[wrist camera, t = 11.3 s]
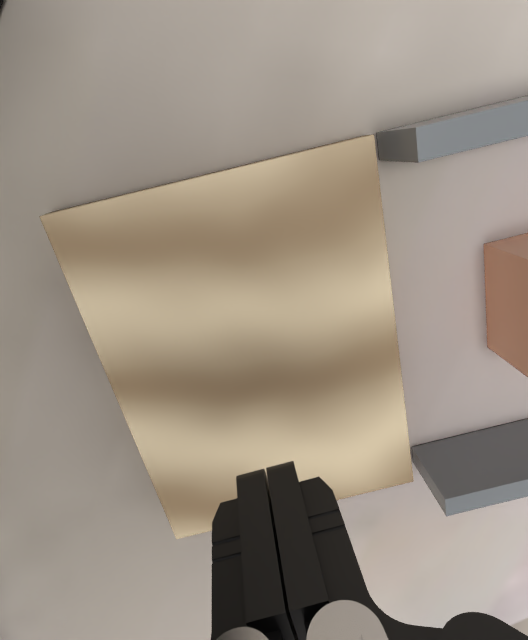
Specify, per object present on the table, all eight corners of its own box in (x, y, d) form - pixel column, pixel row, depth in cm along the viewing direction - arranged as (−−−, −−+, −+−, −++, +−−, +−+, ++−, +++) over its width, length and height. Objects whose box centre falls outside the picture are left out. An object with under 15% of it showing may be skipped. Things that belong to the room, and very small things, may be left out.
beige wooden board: (52, 211, 16) (39, 216, 15) (363, 135, 16) (373, 134, 15) (178, 519, 22) (176, 539, 21) (404, 464, 22) (413, 481, 21)
